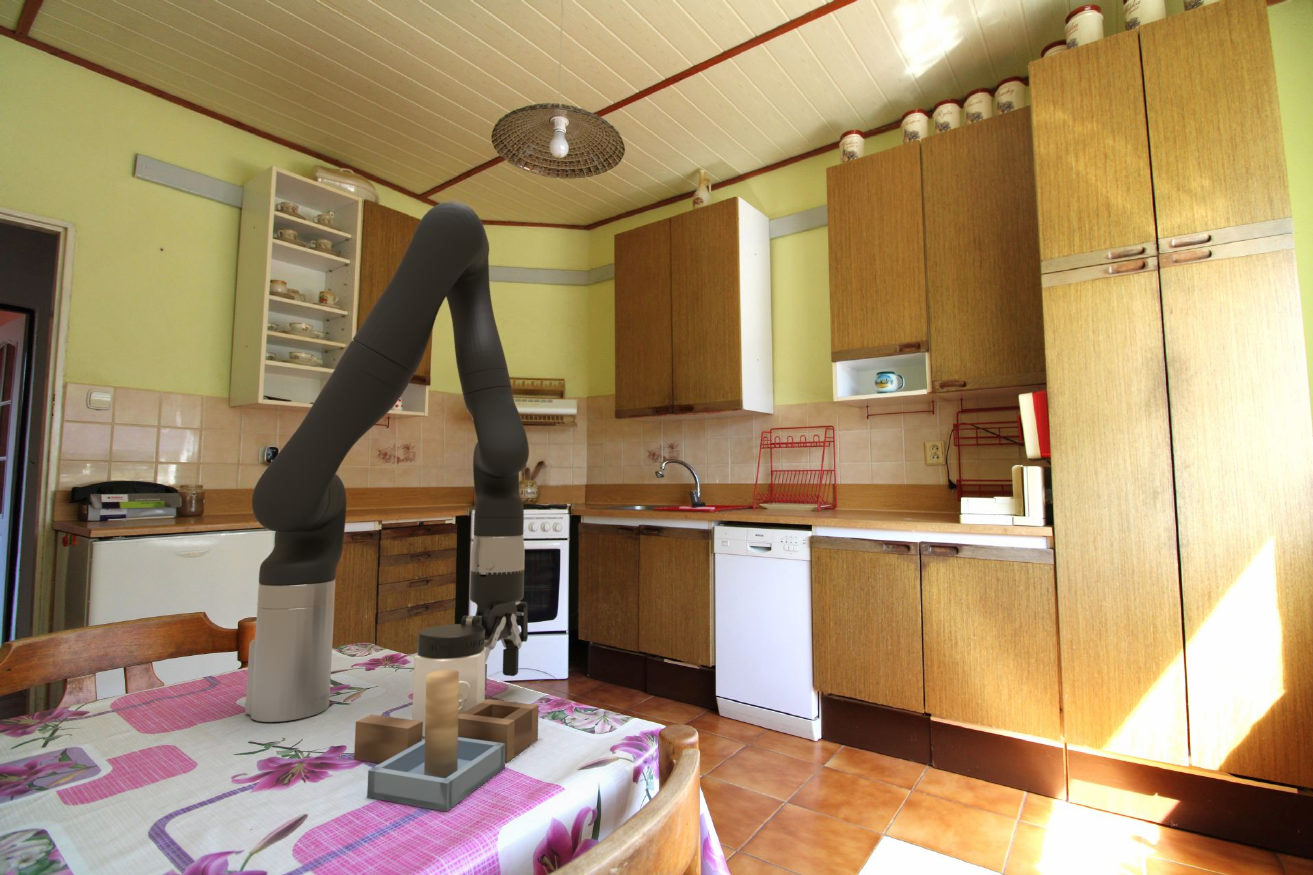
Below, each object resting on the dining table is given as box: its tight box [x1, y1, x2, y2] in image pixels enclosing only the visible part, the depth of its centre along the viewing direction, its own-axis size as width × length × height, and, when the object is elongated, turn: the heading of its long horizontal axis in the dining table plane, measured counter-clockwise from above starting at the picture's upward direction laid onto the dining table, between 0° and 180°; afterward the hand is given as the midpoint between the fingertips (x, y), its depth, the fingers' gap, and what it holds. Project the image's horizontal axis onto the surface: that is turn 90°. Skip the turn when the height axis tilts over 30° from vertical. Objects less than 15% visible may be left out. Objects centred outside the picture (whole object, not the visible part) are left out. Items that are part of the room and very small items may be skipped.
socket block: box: [458, 698, 540, 764], centre depth 73 cm, size 7×7×4 cm
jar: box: [411, 623, 487, 738], centre depth 80 cm, size 9×8×12 cm
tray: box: [366, 737, 506, 813], centre depth 64 cm, size 9×10×2 cm
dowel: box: [424, 670, 459, 778], centre depth 65 cm, size 3×3×10 cm
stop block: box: [353, 714, 423, 764], centre depth 70 cm, size 7×2×4 cm, turn 72°
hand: (494, 683), depth 90 cm, fingers open, 8 cm apart
